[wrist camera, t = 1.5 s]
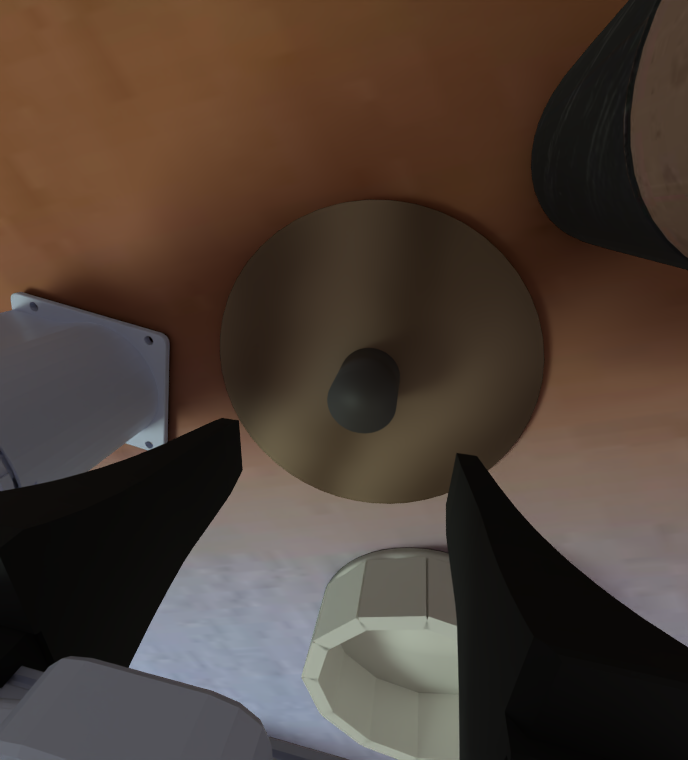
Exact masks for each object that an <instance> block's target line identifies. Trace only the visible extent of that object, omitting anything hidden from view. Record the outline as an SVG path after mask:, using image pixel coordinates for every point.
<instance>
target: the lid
mask: <svg viewBox="0 0 688 760" xmlns="http://www.w3.org/2000/svg"><path fill="white" fill-rule="evenodd" d="M220 358H221V366H222V373H223V377H224V381H225V385H226V389H227V392H228V395H229V397H230V400H231V403H232V405H233V408H234V409H235V411H236V413H237V415H238V417H239V419H240V421H241V423H242V424H243V426H244V427H245V429H246V430H247V432H248V433H249V434H250V436H251V437H252V439H253V440H254V441H255V442H256V443H257V444H258V446H259V447H260V448H261V449H262V450H263V451H264V452H265V453H266V454H267V455H268V456H269V457H270V458H271V459H272V460H273V461H274V462H275V463H277V464H278V465H279V466H281V467H282V468H283V469H285V470H286V471H287V472H288V473H290V474H291V475H293V476H295V477H296V478H298V479H300V480H301V481H303V482H305V483H307V484H309V485H311V486H313V487H315V488H317V489H319V490H321V491H324V492H327V493H330V494H333V495H335V496H338V497H343V498H347V499H351V500H355V501H362V502H369V503H385V504H394V503H408V502H414V501H420V500H425V499H429V498H433V497H436V496H440V495H443V494H446V493H448V492H449V487H450V482H451V477H452V472H453V467H454V462H455V457H456V453H461V454H468V455H475V456H477V457H478V458H479V459H480V461H481V462H482V463H483V465H484V466H485V468H486V469H487V470H489V469H490V468H491V467H493V466H494V465H495V464H496V463H497V462H498V461H499V460H500V459H501V458H502V457H503V456H504V455H505V454H506V453H507V452H508V451H509V450H510V448H511V447H512V446H513V445H514V443H515V442H516V441H517V440H518V438H519V437H520V435H521V434H522V432H523V430H524V429H525V427H526V425H527V423H528V422H529V420H530V418H531V415H532V413H533V410H534V408H535V405H536V403H537V400H538V396H539V392H540V388H541V384H542V378H543V368H544V347H543V336H542V331H541V326H540V322H539V317H538V314H537V311H536V309H535V306H534V304H533V301H532V298H531V296H530V293H529V292H528V290H527V288H526V286H525V285H524V283H523V281H522V279H521V278H520V276H519V274H518V273H517V271H516V270H515V269H514V268H513V266H512V265H511V264H510V263H509V261H508V260H507V259H506V258H505V256H504V255H503V254H502V253H501V252H500V251H499V250H498V249H497V248H496V247H494V246H493V245H492V244H491V243H490V242H489V241H488V240H487V239H486V238H485V237H483V236H482V235H480V234H479V233H478V232H476V231H475V230H473V229H472V228H470V227H469V226H467V225H466V224H464V223H463V222H461V221H458V220H456V219H454V218H452V217H450V216H448V215H446V214H444V213H442V212H439V211H436V210H433V209H430V208H427V207H424V206H420V205H417V204H412V203H406V202H400V201H393V200H361V201H353V202H346V203H340V204H336V205H333V206H329V207H326V208H322V209H319V210H316V211H314V212H312V213H310V214H308V215H305V216H303V217H301V218H299V219H297V220H295V221H293V222H292V223H290V224H289V225H287V226H286V227H284V228H283V229H281V230H279V231H278V232H277V233H276V234H274V235H273V236H272V237H271V238H270V239H269V240H268V241H266V242H265V243H264V244H263V245H262V246H261V247H260V248H259V249H258V250H257V252H256V253H255V254H254V255H253V256H252V257H251V259H250V260H249V261H248V262H247V264H246V265H245V267H244V268H243V270H242V272H241V273H240V275H239V276H238V278H237V279H236V282H235V284H234V286H233V288H232V291H231V293H230V295H229V297H228V301H227V304H226V308H225V311H224V314H223V319H222V326H221V333H220Z"/></svg>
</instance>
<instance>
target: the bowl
mask: <svg viewBox="0 0 688 760" xmlns="http://www.w3.org/2000/svg"><path fill="white" fill-rule="evenodd" d="M302 679H303V681H304V683H305V685H306V687H307V689H308V691H309V693H310V695H311V697H312V699H313V701H314V703H315V705H316V707H317V709H318V711H319V713H320V714H321V715H322V716H323V717H324V718H326V719H327V720H328V721H330V722H331V723H332V724H334V725H335V726H336V727H338V728H339V729H340V730H342V731H343V732H344V733H345V734H347V735H348V736H349V737H351V738H352V739H353V740H355V741H356V742H357V743H359V744H360V745H363V747H366V748H369V749H371V750H374V751H377V752H379V753H382V754H385V755H387V756H390V757H393V758H395V759H398V760H459V684H458V645H457V619H456V608H455V599H454V592H453V584H452V576H451V569H450V561H449V553H445V552H442V551H436V550H430V549H420V548H394V549H386V550H381V551H377V552H372V553H369V554H366V555H364V556H361V557H358V558H356V559H355V560H353V561H351V562H349V563H348V564H346V565H345V566H344V567H342V568H341V569H340V570H339V571H338V572H337V573H336V574H335V575H334V576H333V577H332V579H331V580H330V582H329V583H328V585H327V587H326V590H325V593H324V597H323V600H322V604H321V607H320V610H319V614H318V617H317V620H316V624H315V628H314V632H313V635H312V639H311V643H310V646H309V650H308V654H307V658H306V661H305V665H304V669H303V673H302Z"/></svg>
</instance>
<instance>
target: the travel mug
mask: <svg viewBox="0 0 688 760" xmlns="http://www.w3.org/2000/svg"><path fill="white" fill-rule="evenodd" d="M531 170H532V180H533V185H534V189H535V193H536V196H537V198H538V201H539V203H540V205H541V207H542V208H543V210H544V212H545V213H546V215H547V216H548V217H549V218H550V220H551V221H552V222H553V223H554V224H555V225H556V226H557V227H558V228H560V229H561V230H562V231H564V232H565V233H567V234H568V235H570V236H572V237H574V238H577V239H579V240H581V241H583V242H586V243H590V244H593V245H596V246H600V247H603V248H607V249H610V250H614V251H618V252H622V253H625V254H629V255H633V256H637V257H641V258H644V259H648V260H652V261H656V262H660V263H663V264H667V265H671V266H675V267H679V268H682V269H686V270H688V0H629V1H628V2H627V3H626V4H625V5H624V7H623V8H622V9H621V10H620V11H619V12H618V14H617V15H616V16H615V17H614V18H613V19H612V20H611V22H610V23H609V24H608V25H607V26H606V27H605V29H604V30H603V31H602V32H601V33H600V34H599V35H598V37H597V38H596V39H595V40H594V41H593V42H592V44H591V45H590V46H589V47H588V48H587V49H586V51H585V52H584V53H583V54H582V56H581V57H580V58H579V59H578V60H577V62H576V63H575V64H574V65H573V66H572V68H571V69H570V70H569V71H568V72H567V74H566V75H565V76H564V78H563V79H562V81H561V82H560V84H559V85H558V86H557V88H556V89H555V91H554V92H553V94H552V96H551V98H550V99H549V101H548V103H547V105H546V107H545V109H544V111H543V114H542V116H541V119H540V121H539V123H538V127H537V130H536V134H535V137H534V143H533V148H532V160H531Z"/></svg>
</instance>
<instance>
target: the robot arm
mask: <svg viewBox="0 0 688 760" xmlns="http://www.w3.org/2000/svg"><path fill="white" fill-rule="evenodd" d="M11 304H12V310H11V311H6V312H2V313H0V760H348V759H345V758H341V757H338V756H334V755H331V754H327V753H324V752H320V751H317V750H313V749H310V748H306V747H303V746H299V745H296V744H293V743H289V742H286V741H282V740H279V739H275V738H272V737H268V735H267V733H266V731H265V729H264V726H263V724H262V722H261V720H260V719H259V718H258V717H256V716H255V715H254V714H253V713H252V712H250V711H249V710H248V709H247V708H246V707H244V706H243V705H242V704H241V703H239V702H237V701H235V700H232V699H230V698H228V697H225V696H223V695H221V694H218V693H216V692H214V691H211V690H207V689H203V688H200V687H196V686H193V685H189V684H185V683H182V682H178V681H174V680H171V679H167V678H163V677H160V676H156V675H152V674H149V673H145V672H141V671H138V670H134V669H130V668H129V665H130V663H131V661H132V659H133V657H134V655H135V653H136V651H137V649H138V647H139V645H140V643H141V641H142V639H143V637H144V635H145V633H146V631H147V629H148V627H149V625H150V623H151V621H152V619H153V617H154V615H155V613H156V611H157V609H158V607H159V606H160V604H161V602H162V600H163V598H164V596H165V594H166V592H167V591H168V589H169V587H170V585H171V583H172V582H173V580H174V578H175V576H176V575H177V573H178V571H179V569H180V567H181V566H182V564H183V562H184V561H185V559H186V558H187V556H188V554H189V553H190V551H191V550H192V548H193V547H194V546H195V544H196V543H197V541H198V540H199V538H200V537H201V536H202V534H203V533H204V531H205V530H206V529H207V527H208V526H209V524H210V523H211V521H212V520H213V519H214V517H215V516H216V514H217V513H218V512H219V510H220V509H221V507H222V506H223V504H224V503H225V501H226V500H227V498H228V497H229V495H230V494H231V492H232V490H233V488H234V486H235V484H236V482H237V480H238V478H239V476H240V474H241V472H242V470H243V469H242V456H241V443H240V430H239V421H238V420H232V419H225V418H221V419H218V420H216V421H213V422H211V423H208V424H206V425H204V426H202V427H200V428H197V429H195V430H193V431H191V432H189V433H187V434H184V435H182V436H180V437H178V438H176V439H174V440H171V441H169V442H167V441H168V396H169V350H170V343H169V339H168V337H167V336H166V335H165V334H163V333H161V332H157V331H154V330H150V329H147V328H144V327H140V326H137V325H133V324H130V323H126V322H123V321H119V320H116V319H113V318H109V317H106V316H102V315H99V314H95V313H92V312H89V311H85V310H82V309H78V308H75V307H71V306H68V305H64V304H61V303H58V302H54V301H51V300H47V299H44V298H40V297H37V296H34V295H30V294H27V293H23V292H18V293H14V294H12V296H11ZM37 306H38V307H37ZM149 336H150V337H151V338H152V339H153V342H151V341H150V339H149ZM150 442H151V443H152V444H151V443H150ZM125 443H127V444H130V445H133V446H136V447H139V448H142V449H145V450H148V451H146V452H143V453H141V454H139V455H136V456H133V457H131V458H128V459H125V460H123V461H120V462H117V463H114V464H111V465H108V466H105V467H102V468H99V469H95V470H92V471H89V470H90V469H92V468H93V467H94V466H96V465H97V464H98V463H100V462H101V461H102V460H104V459H105V458H106V457H107V456H109V455H110V454H111V453H113V452H114V451H115V450H117V449H118V448H119V447H121V446H122V445H123V444H125ZM446 537H447V545H448V553H449V561H450V569H451V576H452V584H453V592H454V599H455V608H456V619H457V645H458V684H459V760H688V647H687V646H685V645H684V644H682V643H680V642H679V641H677V640H676V639H674V638H673V637H671V636H670V635H668V634H666V633H665V632H663V631H662V630H660V629H659V628H657V627H656V626H654V625H653V624H651V623H649V622H648V621H646V620H645V619H643V618H642V617H640V616H639V615H638V614H636V613H635V612H633V611H632V610H631V609H629V608H628V607H626V606H625V605H624V604H622V603H621V602H620V601H618V600H617V599H615V598H614V597H613V596H611V595H610V594H609V593H607V592H606V591H605V590H603V589H602V588H601V587H600V586H598V585H597V584H596V583H594V582H593V581H592V580H591V579H589V578H588V577H587V576H586V575H585V574H583V573H582V572H581V571H580V570H579V569H577V568H576V567H575V566H574V565H573V564H571V563H570V562H569V561H568V560H567V559H566V558H565V557H564V556H562V555H561V554H560V553H559V552H558V551H557V550H556V549H555V548H554V547H553V546H552V545H551V544H550V543H549V542H548V541H547V540H546V539H544V538H543V537H542V536H541V535H540V534H539V533H538V532H537V531H536V530H535V528H534V527H533V526H532V525H531V524H530V523H529V522H528V521H527V520H526V519H525V518H524V516H523V515H522V514H521V513H520V512H519V511H518V510H517V508H516V507H515V506H514V505H513V504H512V502H511V501H510V500H509V499H508V497H507V496H506V495H505V493H504V492H503V491H502V490H501V488H500V487H499V486H498V484H497V483H496V482H495V480H494V479H493V477H492V476H491V475H490V473H489V472H488V470H487V469H486V468H485V466H484V465H483V463H482V462H481V461H480V459H479V458H478V457H477V456H475V455H468V454H461V453H456V457H455V462H454V467H453V472H452V477H451V482H450V487H449V492H448V497H447V502H446Z"/></svg>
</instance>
